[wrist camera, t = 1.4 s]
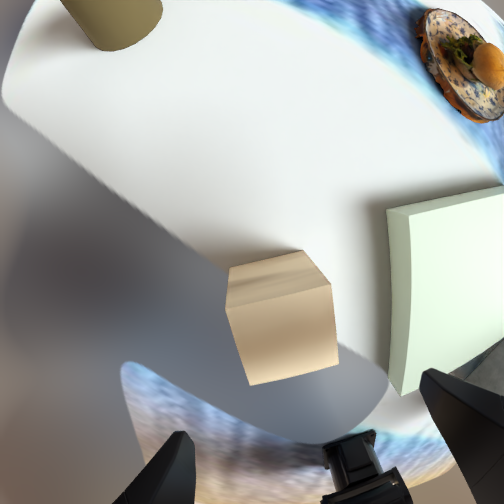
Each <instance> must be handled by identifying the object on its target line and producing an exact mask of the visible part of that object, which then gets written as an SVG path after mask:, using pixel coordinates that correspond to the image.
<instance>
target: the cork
mask: <svg viewBox="0 0 504 504" xmlns="http://www.w3.org/2000/svg"><path fill="white" fill-rule="evenodd" d="M60 1H61V2H62V4H63V5H64V6H65V8H66V9H67V10H68V11H69V13H70V14H71V15H72V17H73V18H74V19H75V21H76V22H77V23H78V24H79V26H80V27H81V28H82V30H83V31H84V32H85V34H86V35H87V36H88V37H89V39H90V40H91V41H92V43H93V44H94V45H95V47H97V48H99V49H101V50H102V51H116V50H121V49H124V48H127V47H129V46H131V45H133V44H136V43H137V42H138V41H140V40H141V39H143V38H144V37H146V36H147V35H148V34H149V33H150V32H151V31H152V30H153V29H154V28H155V27H156V25H157V24H158V22H159V20H160V19H161V16H162V12H163V7H162V2H161V1H160V0H60Z"/></svg>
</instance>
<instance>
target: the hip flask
mask: <svg viewBox="0 0 504 504" xmlns="http://www.w3.org/2000/svg"><path fill="white" fill-rule="evenodd" d="M464 381H466V382H469V383H471V384H474V385H476V386H479V387H481V388H484V389H487V390H489V391H492V392H494V393H497V394H500V395H503V396H504V339H503V340H502V341H501V342H500V343H499V344H498V345H497V347H496V348H495V349H494V350H493V351H492V352H491V353H490V354H489V355H488V356H487V357H486V358H485V359H484V360H483V361H482V362H481V363H480V365H479V366H478V367H477V368H476V369H475V370H474V371H473V372H472V373H471V374H470V375H469V376H468V377H467V378H466V379H465V380H464Z"/></svg>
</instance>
